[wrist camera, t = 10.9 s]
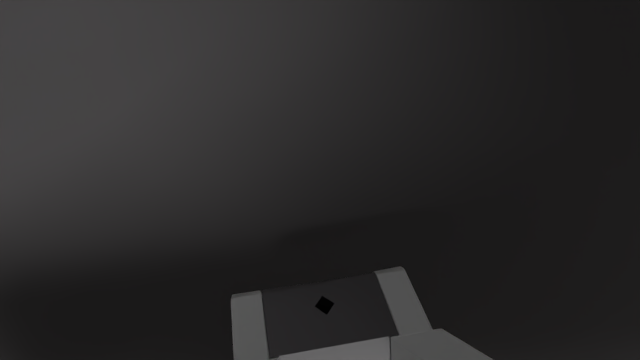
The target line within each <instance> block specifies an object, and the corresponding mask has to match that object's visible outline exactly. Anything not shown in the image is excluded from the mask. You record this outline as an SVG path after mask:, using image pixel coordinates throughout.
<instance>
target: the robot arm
mask: <svg viewBox="0 0 640 360" xmlns="http://www.w3.org/2000/svg"><path fill="white" fill-rule="evenodd" d="M262 297H263V298H262ZM231 316H232V337H233V357H234V360H493V359H492V358H490V357H488V356H487V355H485V354H483V353H482V352H480V351H478V350H477V349H475V348H473V347H472V346H470V345H468V344H467V343H465V342H463V341H462V340H460V339H458V338H457V337H455V336H453V335H452V334H450V333H448V332H447V331H445V330H443V329H442V328H440V329H434V330H433V329H432V326H431V324H430V322H429V320H428V318H427V316H426V314H425V312H424V309H423V307H422V305H421V303H420V301H419V299H418V297H417V294H416V292H415V290H414V288H413V286H412V284H411V282H410V280H409V277H408V275H407V273H406V271H405V269H404V268H402V267H401V266H399V267H394V268H389V269H384V270H378V271H374V272H373V273H372V272H371V273H366V274H360V275H354V276H348V277H342V278H337V279H331V280H325V281H319V282H312V283H305V284H298V285H291V286H284V287H277V288H270V289H263V290H262V293H261V291H260V290H259V291H252V292H246V293H239V294H232V297H231Z"/></svg>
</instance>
